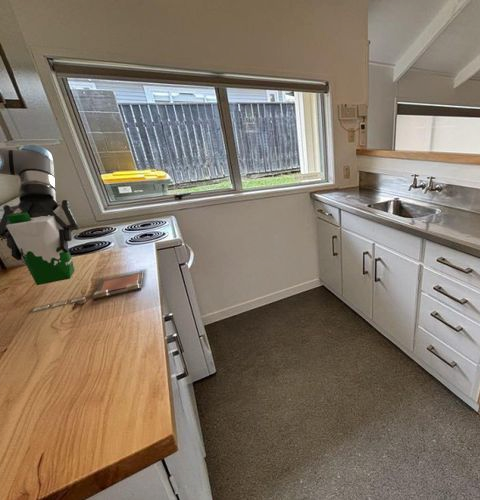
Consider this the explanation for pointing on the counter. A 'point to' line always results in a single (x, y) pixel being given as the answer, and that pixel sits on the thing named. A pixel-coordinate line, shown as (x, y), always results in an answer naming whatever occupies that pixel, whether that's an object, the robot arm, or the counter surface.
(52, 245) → the soya milk
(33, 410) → the counter surface
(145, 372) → the counter surface
